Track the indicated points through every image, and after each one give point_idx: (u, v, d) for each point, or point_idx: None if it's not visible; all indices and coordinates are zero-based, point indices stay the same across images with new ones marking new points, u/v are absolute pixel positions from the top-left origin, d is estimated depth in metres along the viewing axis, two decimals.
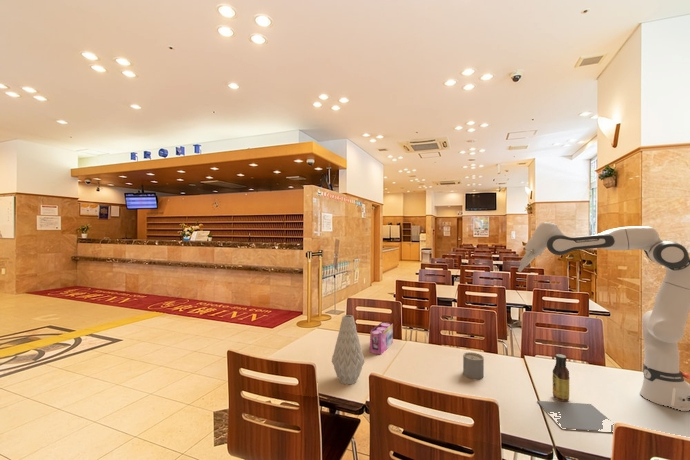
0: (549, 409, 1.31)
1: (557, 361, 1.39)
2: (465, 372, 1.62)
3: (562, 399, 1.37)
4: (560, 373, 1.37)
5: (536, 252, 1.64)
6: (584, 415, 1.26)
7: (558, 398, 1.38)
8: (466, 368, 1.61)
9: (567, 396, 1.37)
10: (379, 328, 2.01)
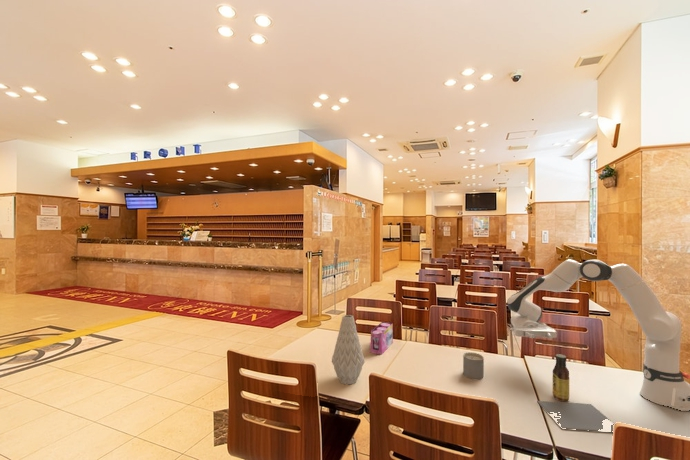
0: (549, 409, 1.31)
1: (557, 361, 1.39)
2: (465, 372, 1.62)
3: (562, 399, 1.37)
4: (560, 373, 1.37)
5: (521, 324, 1.70)
6: (584, 415, 1.26)
7: (558, 398, 1.38)
8: (466, 368, 1.61)
9: (567, 396, 1.37)
10: (379, 328, 2.01)
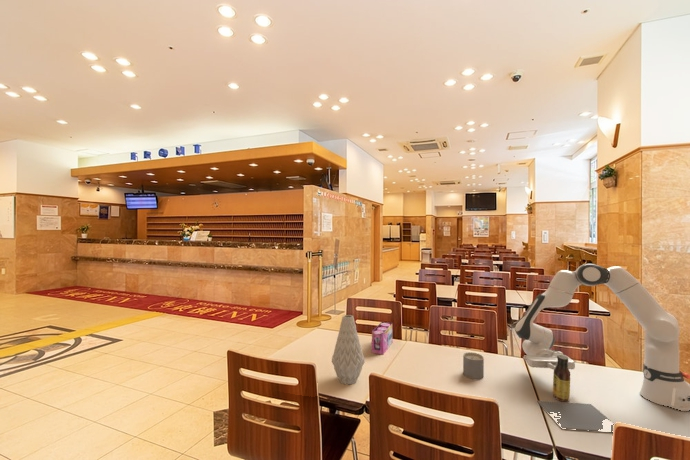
0: (549, 409, 1.31)
1: (559, 362, 1.38)
2: (465, 372, 1.62)
3: (562, 399, 1.37)
4: (561, 374, 1.36)
5: (535, 353, 1.55)
6: (584, 415, 1.26)
7: (558, 398, 1.38)
8: (466, 368, 1.61)
9: (567, 396, 1.37)
10: (380, 328, 2.01)
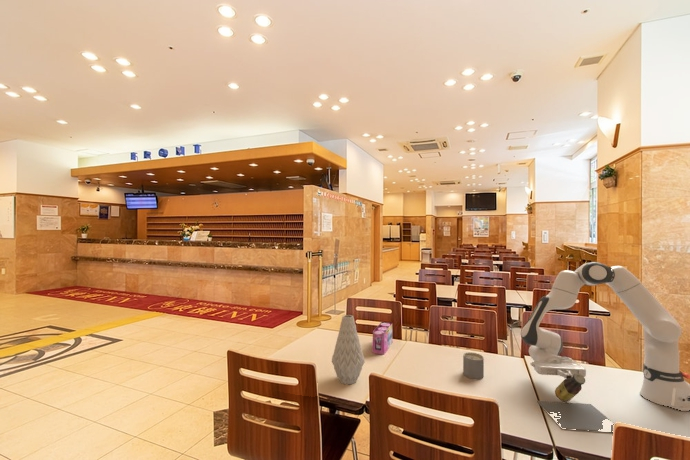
0: (549, 409, 1.31)
1: (573, 381, 1.27)
2: (465, 372, 1.62)
3: (563, 401, 1.37)
4: (571, 390, 1.29)
5: (543, 359, 1.47)
6: (584, 415, 1.26)
7: (559, 398, 1.37)
8: (466, 368, 1.61)
9: (569, 399, 1.35)
10: (380, 328, 2.01)
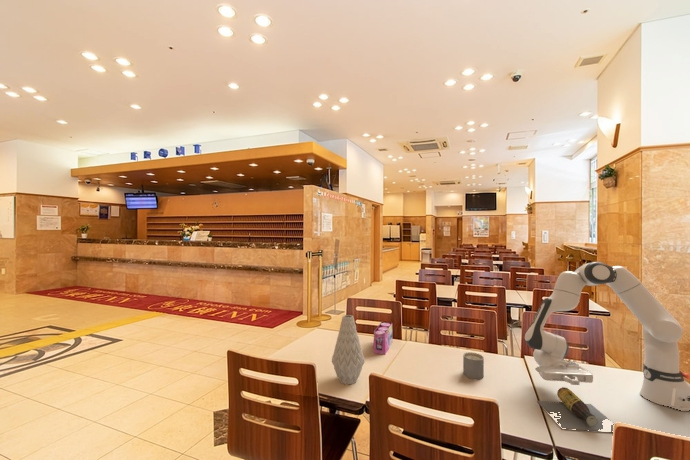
0: (549, 409, 1.31)
1: (583, 417, 1.21)
2: (465, 372, 1.62)
3: None
4: (577, 416, 1.25)
5: (549, 364, 1.43)
6: None
7: (559, 398, 1.37)
8: (466, 368, 1.61)
9: None
10: (381, 328, 2.01)
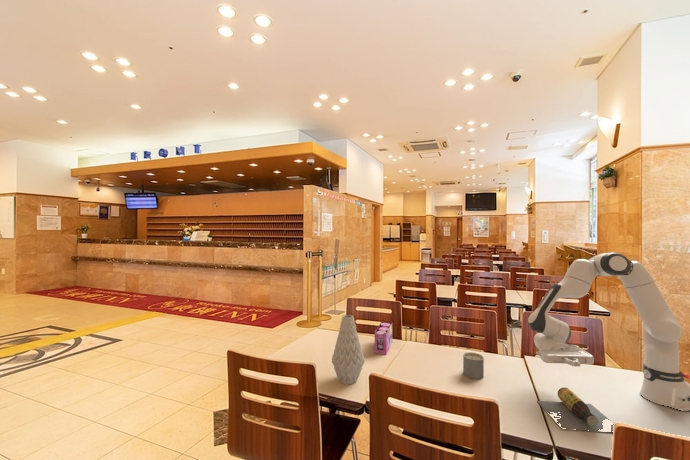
0: (549, 409, 1.31)
1: (583, 417, 1.21)
2: (465, 372, 1.62)
3: None
4: (577, 416, 1.25)
5: (549, 347, 1.42)
6: None
7: (559, 398, 1.37)
8: (466, 368, 1.61)
9: None
10: (381, 328, 2.01)
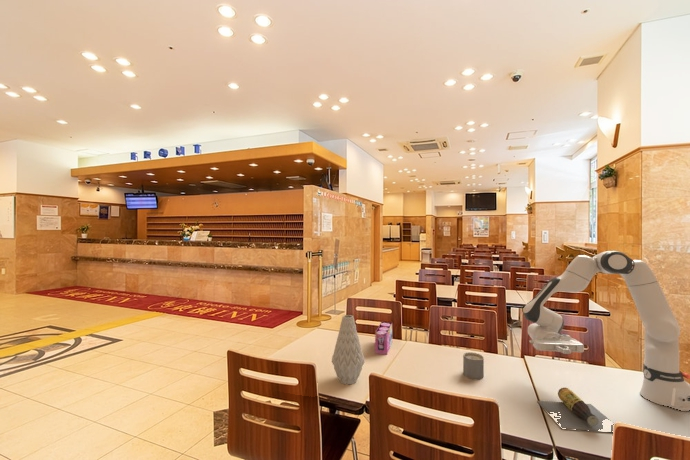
0: (549, 409, 1.31)
1: (583, 417, 1.21)
2: (465, 372, 1.62)
3: None
4: None
5: (542, 336, 1.49)
6: None
7: (560, 398, 1.37)
8: (466, 368, 1.61)
9: None
10: (381, 328, 2.01)
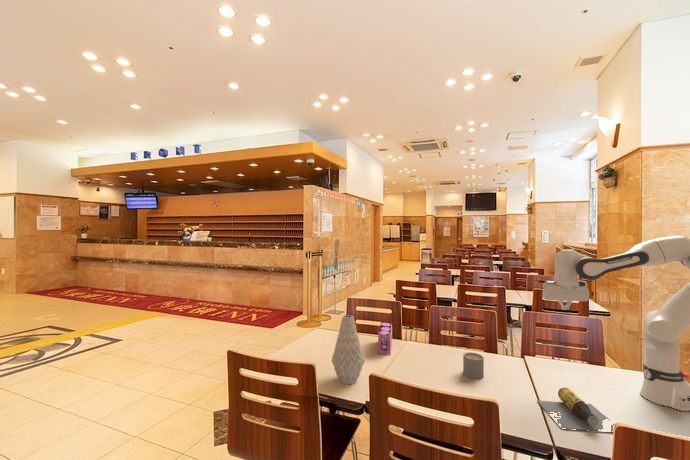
0: (549, 409, 1.31)
1: (584, 417, 1.21)
2: (465, 372, 1.62)
3: None
4: None
5: (559, 283, 1.52)
6: None
7: (560, 398, 1.37)
8: (466, 368, 1.61)
9: None
10: (383, 328, 2.01)
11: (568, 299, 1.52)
